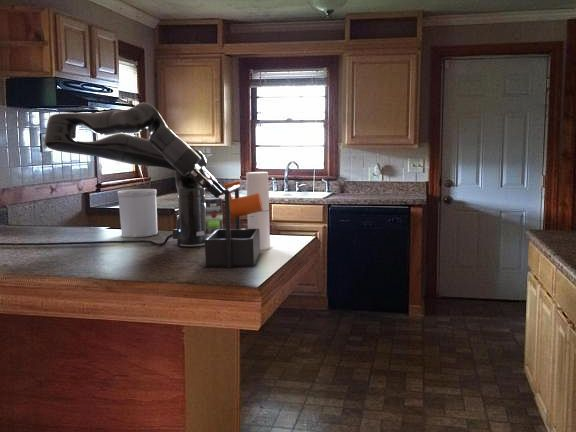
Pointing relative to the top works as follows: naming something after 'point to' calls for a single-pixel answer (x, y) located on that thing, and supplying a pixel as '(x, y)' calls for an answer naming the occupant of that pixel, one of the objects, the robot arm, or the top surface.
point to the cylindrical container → (260, 220)
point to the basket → (232, 242)
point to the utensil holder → (138, 212)
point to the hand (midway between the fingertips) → (221, 194)
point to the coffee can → (213, 214)
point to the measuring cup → (244, 203)
